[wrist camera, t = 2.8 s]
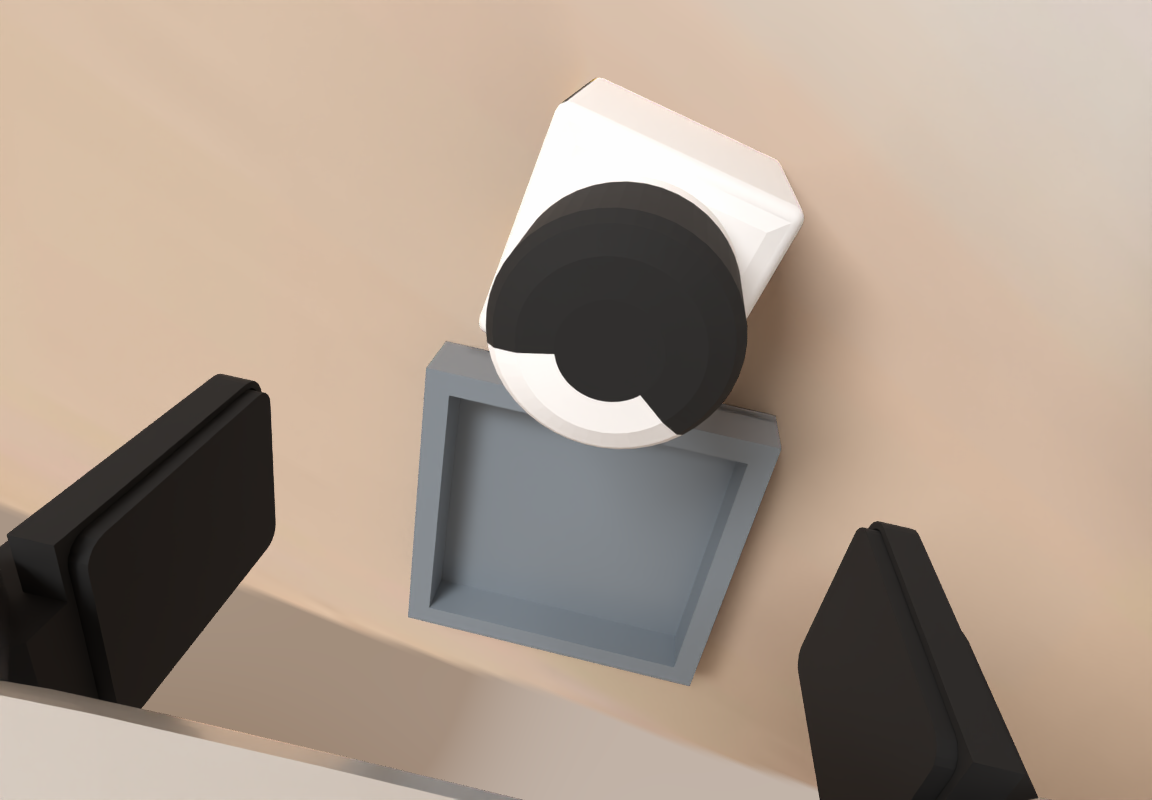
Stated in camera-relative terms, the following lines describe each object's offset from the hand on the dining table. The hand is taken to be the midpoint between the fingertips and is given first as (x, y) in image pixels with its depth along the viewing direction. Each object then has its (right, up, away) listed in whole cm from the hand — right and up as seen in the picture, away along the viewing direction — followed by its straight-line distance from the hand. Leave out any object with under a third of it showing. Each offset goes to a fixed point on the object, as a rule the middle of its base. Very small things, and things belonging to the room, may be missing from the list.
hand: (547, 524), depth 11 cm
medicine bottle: (+3, +9, +15) cm, 18 cm away
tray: (+1, -3, +22) cm, 22 cm away
